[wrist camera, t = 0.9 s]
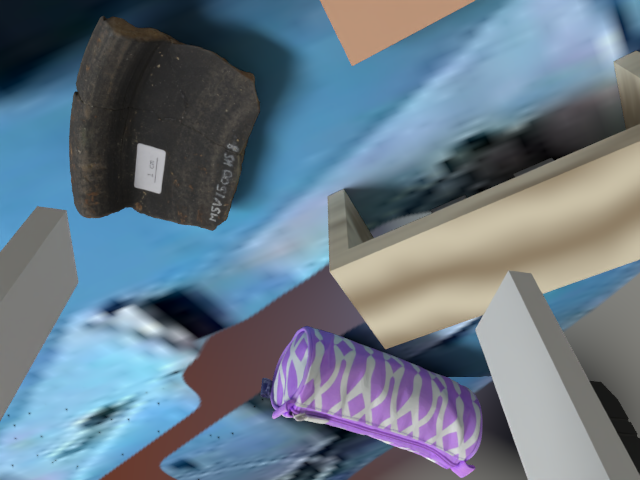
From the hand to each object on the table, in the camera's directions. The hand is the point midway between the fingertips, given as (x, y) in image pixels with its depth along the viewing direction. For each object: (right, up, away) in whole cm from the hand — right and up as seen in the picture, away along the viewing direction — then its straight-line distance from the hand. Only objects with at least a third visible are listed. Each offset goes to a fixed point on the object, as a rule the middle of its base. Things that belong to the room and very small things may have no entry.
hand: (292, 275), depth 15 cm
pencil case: (+7, -12, +38) cm, 41 cm away
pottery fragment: (-8, +10, +23) cm, 26 cm away
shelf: (+15, +5, +25) cm, 29 cm away
